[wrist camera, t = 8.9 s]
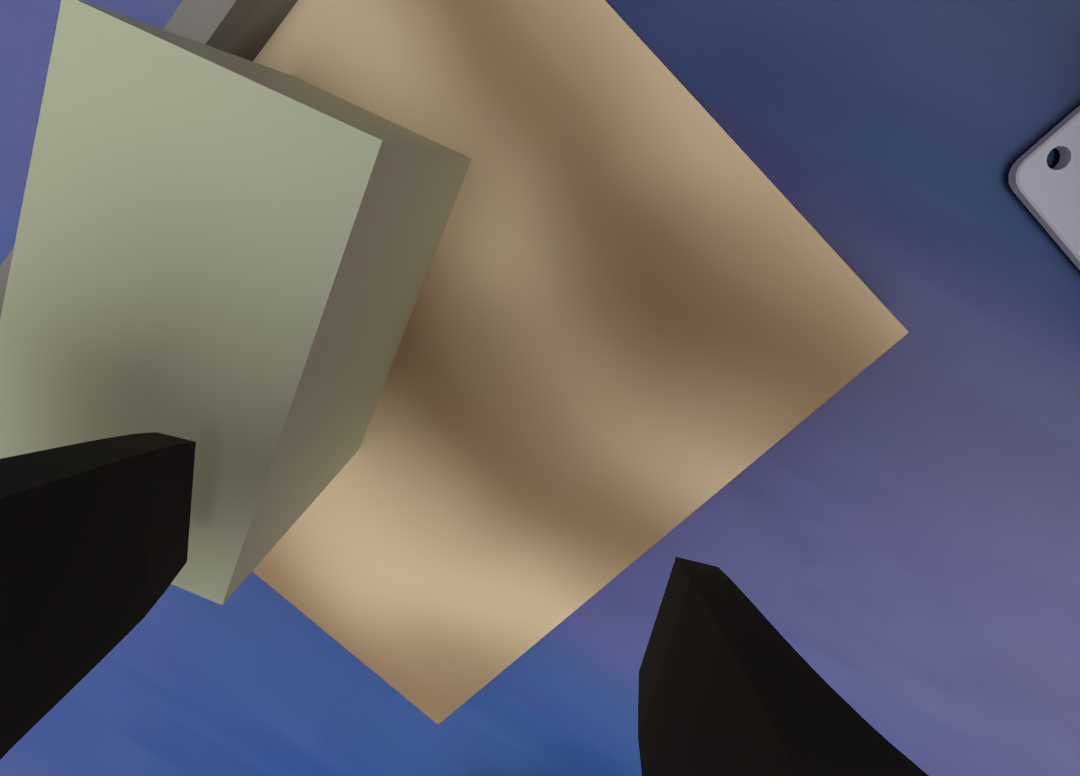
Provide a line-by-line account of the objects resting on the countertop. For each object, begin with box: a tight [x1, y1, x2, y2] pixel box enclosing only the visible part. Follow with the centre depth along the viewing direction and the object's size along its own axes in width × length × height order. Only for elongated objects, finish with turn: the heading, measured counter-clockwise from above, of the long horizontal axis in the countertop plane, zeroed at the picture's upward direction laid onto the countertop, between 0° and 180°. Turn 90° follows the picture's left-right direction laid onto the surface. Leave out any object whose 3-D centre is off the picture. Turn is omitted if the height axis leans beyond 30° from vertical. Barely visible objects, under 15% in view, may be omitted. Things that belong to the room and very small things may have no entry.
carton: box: [0, 0, 471, 605], centre depth 14 cm, size 5×8×7 cm, turn 156°
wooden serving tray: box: [0, 0, 909, 724], centre depth 17 cm, size 17×16×4 cm
